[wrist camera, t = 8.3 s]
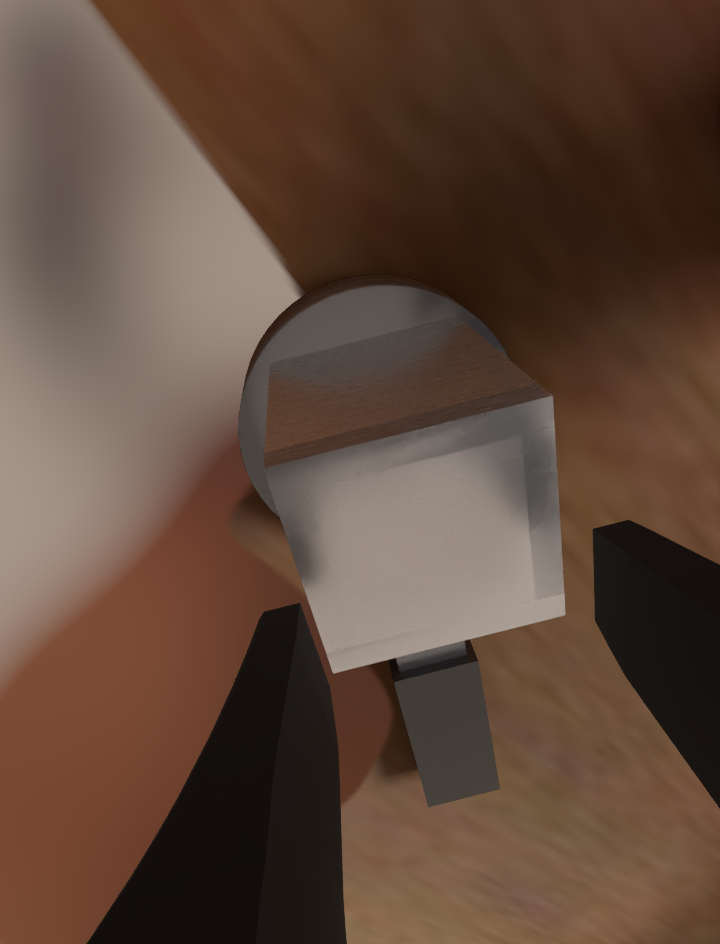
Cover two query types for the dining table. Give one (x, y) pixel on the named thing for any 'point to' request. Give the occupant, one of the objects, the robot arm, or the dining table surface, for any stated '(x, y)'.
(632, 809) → the dining table surface
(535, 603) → the white boxy piece
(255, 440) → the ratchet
